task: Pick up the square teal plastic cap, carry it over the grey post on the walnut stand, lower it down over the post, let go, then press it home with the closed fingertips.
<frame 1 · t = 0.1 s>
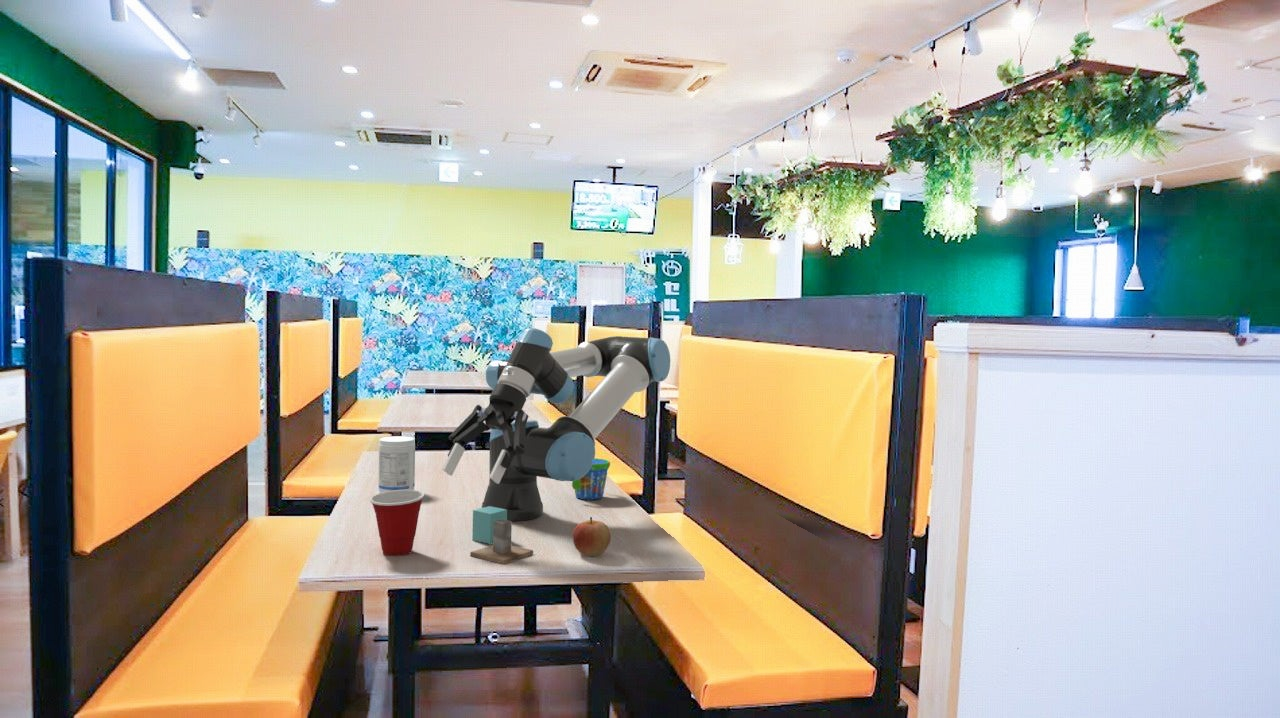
hand: (469, 476, 176), 15 cm above the table, tool tilted 35°, fingers open, 13 cm apart
plastic cup: (396, 553, 172), on the table
post: (501, 555, 172), on the table
apple: (591, 555, 175), on the table
snack cup: (589, 498, 229), on the table
supplement tub: (396, 492, 229), on the table
cap: (489, 539, 184), on the table
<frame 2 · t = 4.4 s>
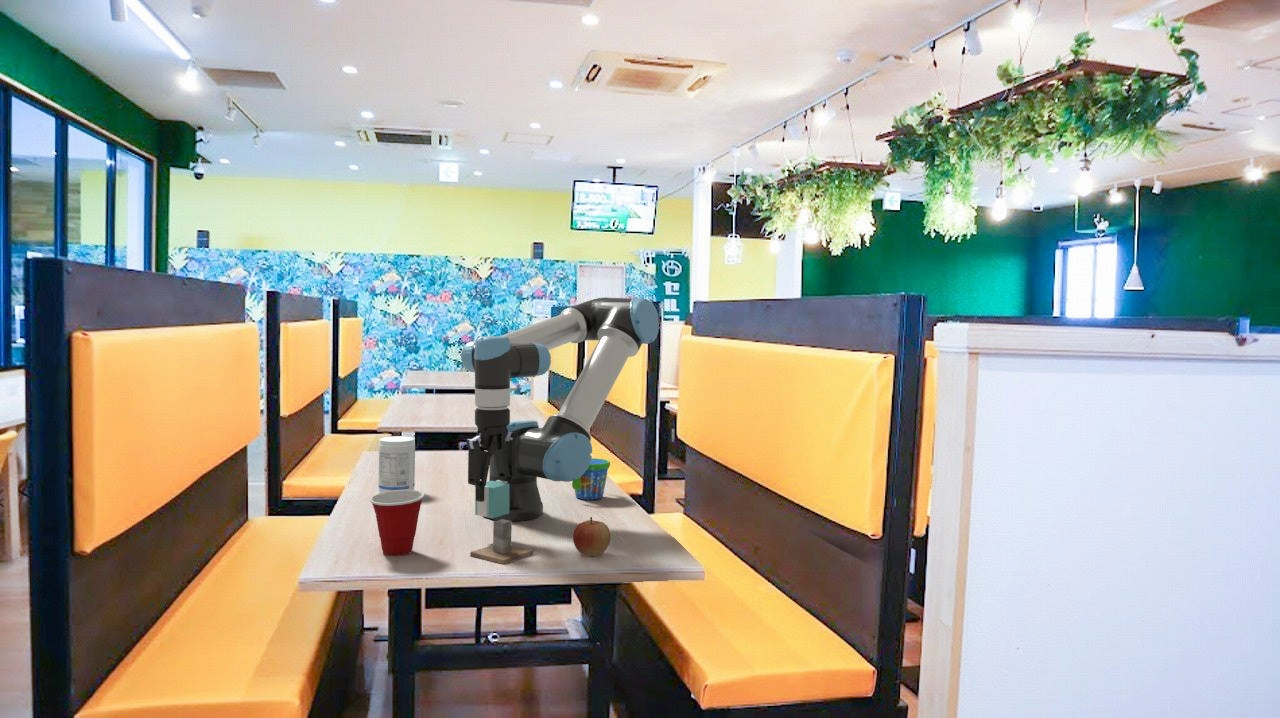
hand: (492, 512, 184), 6 cm above the table, tool pointing down, fingers closed on cap, 5 cm apart
cap: (492, 513, 184), point 6 cm above the table, touching gripper
everything else where it was.
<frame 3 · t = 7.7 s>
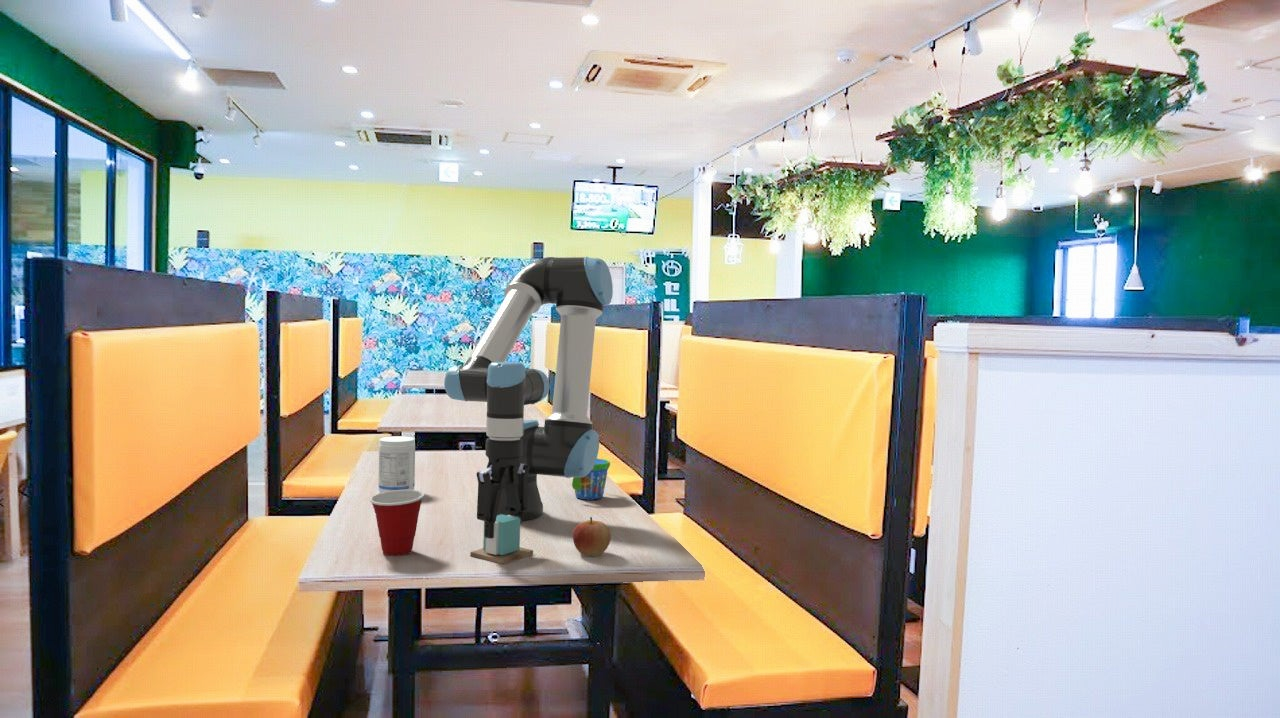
hand: (501, 549, 172), 1 cm above the table, tool pointing down, fingers closed on cap, 5 cm apart
cap: (501, 550, 172), point 1 cm above the table, touching gripper, post
everything else where it was.
when the fingers open (1 cm above the table, at t = 7.9 s): cap stays where it is, resting on post.
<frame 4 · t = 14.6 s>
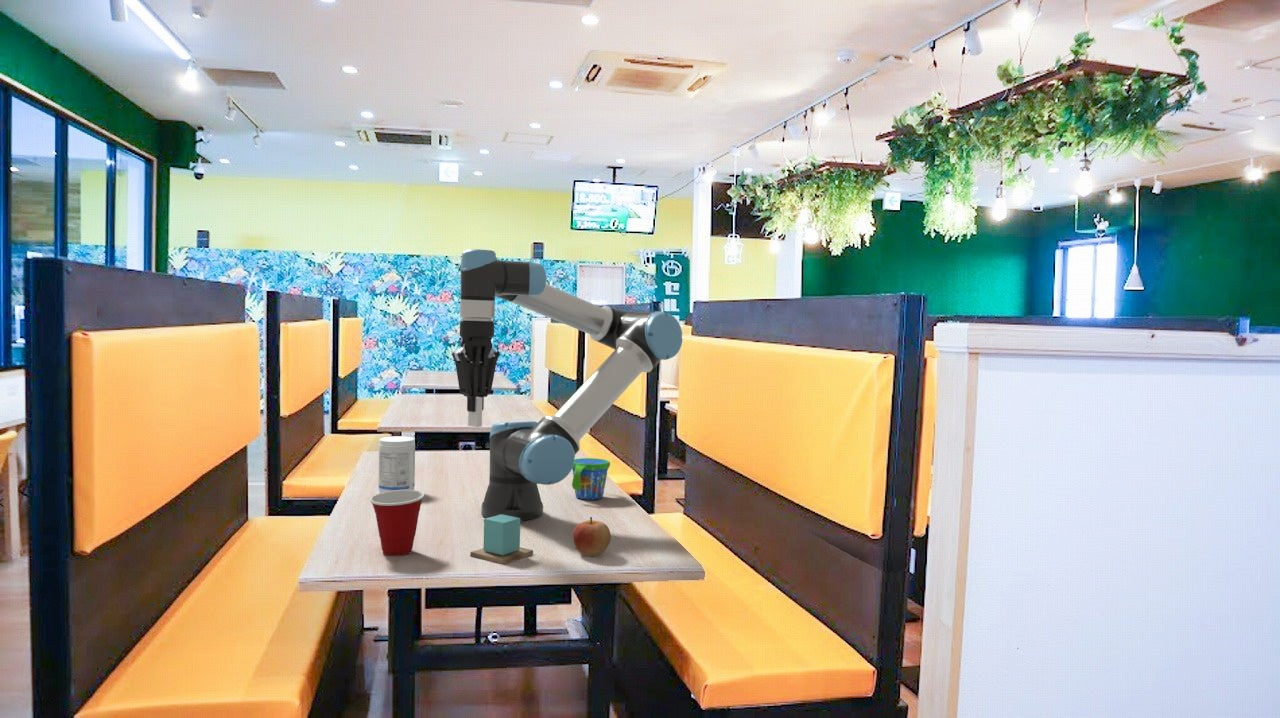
hand: (474, 425, 187), 24 cm above the table, tool pointing down, fingers closed
cap: (501, 550, 172), point 1 cm above the table, touching post
everything else where it was.
at the end: cap 0.1 cm from the post (horizontally); cap point 1.0 cm above the table; the gripper is holding nothing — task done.
